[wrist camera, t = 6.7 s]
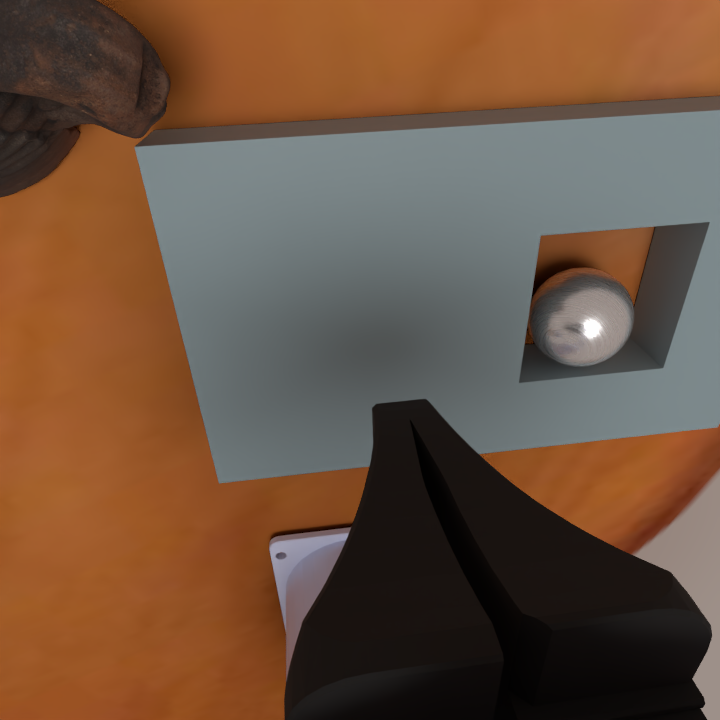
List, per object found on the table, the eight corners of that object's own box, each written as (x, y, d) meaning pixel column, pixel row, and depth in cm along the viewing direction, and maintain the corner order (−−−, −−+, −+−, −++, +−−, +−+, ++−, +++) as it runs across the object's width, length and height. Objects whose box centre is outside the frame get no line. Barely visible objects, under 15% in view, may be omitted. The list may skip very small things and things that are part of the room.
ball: (631, 335, 20) (607, 399, 19) (539, 311, 22) (509, 368, 20) (656, 260, 18) (632, 325, 16) (551, 239, 19) (518, 296, 18)
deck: (679, 391, 24) (717, 426, 22) (225, 439, 22) (219, 483, 20) (784, 92, 17) (852, 101, 15) (154, 129, 16) (134, 147, 14)
